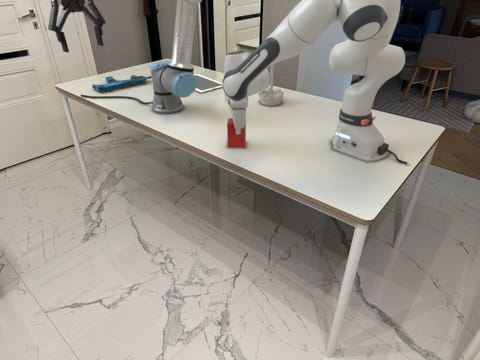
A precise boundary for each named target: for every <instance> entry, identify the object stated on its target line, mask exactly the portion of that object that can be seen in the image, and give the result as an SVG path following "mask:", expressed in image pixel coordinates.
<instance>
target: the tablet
mask: <svg viewBox="0 0 480 360" xmlns="http://www.w3.org/2000/svg"><path fill="white" fill-rule="evenodd" d="M193 75H194V76H195V78H196V80H197V86H196V89H195V91H194V92H198V93H200V94H203V93H206V92H211V91H215V90H217V89H223V82H221V81H219V80H216V79H214V78H210V77H207V76H206V75H202V74H199V73H193Z"/></svg>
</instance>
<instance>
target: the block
mask: <svg viewBox="0 0 480 360" xmlns="http://www.w3.org/2000/svg"><path fill="white" fill-rule="evenodd" d="M226 128H227V129H226V133H227V134H226V135H227V137H226V139H227V148H228V149H229V148H230V149H231V148H232V149H233V148H234V149H245V148H246V144H247V143H246V142H247V138H246V137H247V118H246V119H245V127H244V128H241V133H240V134H238V135H237V134H236V128H235V127H234V123H233V119H232V117H228V119H227V122H226Z"/></svg>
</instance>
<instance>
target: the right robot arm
mask: <svg viewBox="0 0 480 360" xmlns="http://www.w3.org/2000/svg"><path fill="white" fill-rule="evenodd" d="M400 11H401V0H301V1H299V2H298V3H297V4H296V5H295V6H294V7H293V8H292V10H291V11H290V12H288V14H287V16H285V17H284V19H283V20H282V21H281V22H280V23H279V24H278V25H277V27H276V28H275V29H274V30H273V31H272V32H271V33H270V34H269V35H268V36H267V37H266V38H265V39H264V41H262V42H261V43H260V44H259V45H258V46H257V47H256V48H255V49H254V50H253V51H252V52H251V53H250V54H249V53H248V52H247V51H246V50H235V51H231V52H228V53H226V55H225V57H224V63H223V79H222V83H223V87H222V90H223V92H224V101H225V103H226V104H227V105H228V106H229V110H230V115H231V118H232V119H233V123H234V127H235V128H236V134H237V135H238V134H240V133H241V128H244V127H245V119H246V120H247V118H246V117H247V108H248V107H249V97H251V96H254V95H256V94H259V92H261V91H264V90H268V88H270V81H271V71H270V69H269V68H270V67H271V65H273V64H274V65H275V64H277V63H281V62H283V61H286V60H288V59H293V58H294V57H297V56H300V55H301V54H303V53H304V52H305V51H307V50H308V49H310V48H311V47H312V46H313V45H314V44H315V43H316V42H317V41H318V40H319V39H320V38H321V37H322V36H323V35H324V34H325V33H326V31H327V30H328V29H329V28H330V26H331V25H332V24H334V23H336V22H338V21H339V23H340V25H341V26H342V31H343V33H344V34H345V37H347V39H346V40H344V41H342V42H339V43H336V44H335V45H334V46H333V47H332V48H331V50H330V52H329V54H328V64H329V67H330V69H331V70H332V71H333V72H335V73H338V74H341V75H347V76H349V75H351V76H362V77H363V78H362V79H361V80H359V81H358V82H355V83H352V84H351V85H349V86H348V87H346V89H345V90H344V92H343V98H342V103H341V108H340V109H339V113H338V122H337V123H338V124H337V127H336V130H335V132H334V135H333V137H332V139H331V144H332V149H333V150H334V151H336V152H340V153H343V154H344V155H345V154H346V155H348V156H351V157H354V158H356V159H359V160H361V161H365V162H374V161H379V160H381V159H383V158H385V157H387V155H388V154H391V155H392V156H393V157H394V158H395V160H396V161H397V162H399V163H400V164H405V165H408V161H404V160H401V159H400V158H399V156H398V155H397V154H396V153H394V152H393V151H392V150H389V147H390V143H386V142H385V138H384V135H383V134H382V133H381V131H379V128H377V126H376V125H375V124H374V121H375V120H376V119H377V116H373V113H372V109H373V105H374V101H375V98H376V95H377V93H378V91H379V90H380V88H381V87H382V86H383V85H384V84H385V83H386V82H387V81H388V80H390V79H391V78H393V77H395V76H397V75H398V74H400V72H401V71H402V70H403V68H404V66H405V64H406V54H405V51H404V49H403V47H401V46H397V45H394V44H390V42H391V40H392V38H393V34H394V33H395V29H396V27H397V24H398V21H399V17H400Z"/></svg>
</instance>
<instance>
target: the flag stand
mask: <svg viewBox="0 0 480 360" xmlns="http://www.w3.org/2000/svg"><path fill="white" fill-rule="evenodd" d="M274 72H275V64H273V65H271V66H270V76H271V81H270V85H269V87H268V88H267V89H265V90H264V91H261V92H259V93H258V98H259V99H260V100H259V102H260V104H262V105H264V106H269V107H270V106H271V107H274V106H278V105H280V104H281V103H282V99H284V96H285V95H284V94H285V93H284V91H282V89H280V88H276V89H275V90H274Z"/></svg>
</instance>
